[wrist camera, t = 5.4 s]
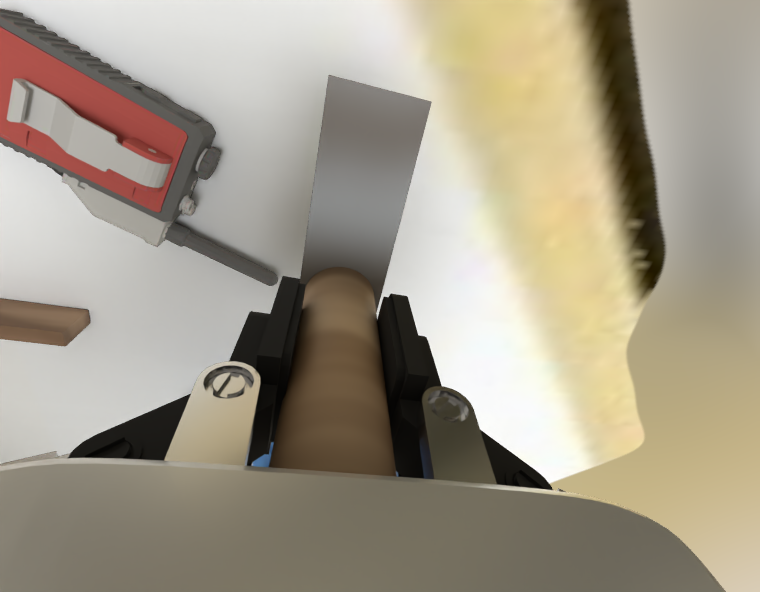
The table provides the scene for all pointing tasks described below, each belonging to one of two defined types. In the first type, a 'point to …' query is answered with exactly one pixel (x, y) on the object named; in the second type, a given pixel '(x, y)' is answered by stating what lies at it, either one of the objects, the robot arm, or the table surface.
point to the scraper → (348, 283)
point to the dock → (40, 322)
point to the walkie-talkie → (107, 137)
